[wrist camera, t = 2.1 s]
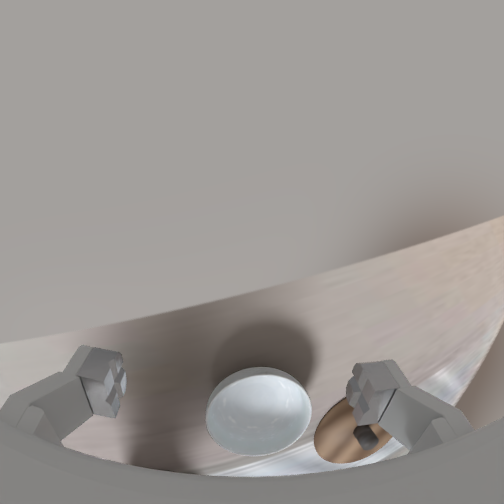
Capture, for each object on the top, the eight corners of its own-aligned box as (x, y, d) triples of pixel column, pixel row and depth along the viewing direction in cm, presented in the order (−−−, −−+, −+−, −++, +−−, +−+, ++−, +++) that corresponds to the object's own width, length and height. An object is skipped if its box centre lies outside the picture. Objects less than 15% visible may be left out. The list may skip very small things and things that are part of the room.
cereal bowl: (274, 441, 49) (281, 465, 42) (192, 416, 47) (189, 440, 40) (319, 373, 48) (332, 392, 41) (231, 340, 46) (232, 358, 39)
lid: (415, 406, 52) (429, 419, 46) (356, 468, 52) (365, 484, 46) (360, 372, 49) (374, 387, 43) (293, 445, 50) (299, 464, 44)
